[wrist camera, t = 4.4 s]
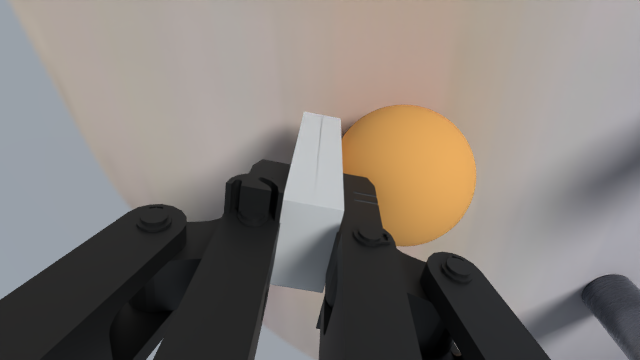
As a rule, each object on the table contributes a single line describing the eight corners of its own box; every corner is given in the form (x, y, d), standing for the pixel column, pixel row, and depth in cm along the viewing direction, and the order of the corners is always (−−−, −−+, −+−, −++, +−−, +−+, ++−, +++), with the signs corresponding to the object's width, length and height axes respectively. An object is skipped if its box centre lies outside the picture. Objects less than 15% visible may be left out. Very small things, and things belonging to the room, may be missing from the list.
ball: (432, 89, 16) (537, 141, 12) (398, 192, 19) (474, 264, 15) (322, 81, 14) (404, 142, 10) (301, 200, 16) (357, 289, 12)
